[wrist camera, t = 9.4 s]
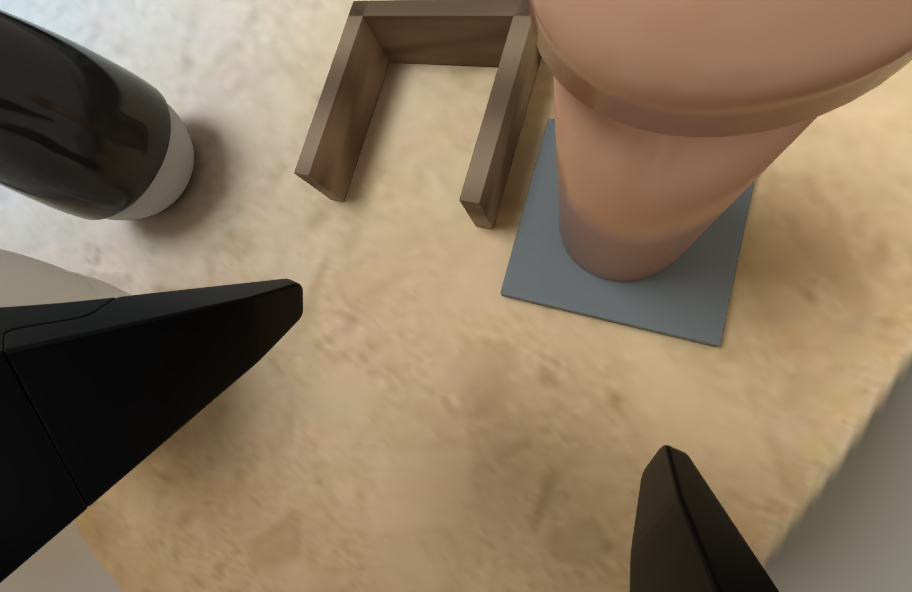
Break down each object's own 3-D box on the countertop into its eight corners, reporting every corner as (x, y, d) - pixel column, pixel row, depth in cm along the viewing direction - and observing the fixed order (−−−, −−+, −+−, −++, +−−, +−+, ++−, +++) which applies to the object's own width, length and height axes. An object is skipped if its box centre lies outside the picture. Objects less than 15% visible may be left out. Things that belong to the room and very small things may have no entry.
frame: (492, 229, 21) (479, 203, 18) (330, 199, 24) (293, 173, 21) (542, 53, 22) (538, -2, 19) (381, 48, 26) (353, 1, 22)
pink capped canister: (649, 317, 17) (914, 144, 4) (525, 246, 20) (444, -12, 6) (732, 195, 17) (1247, -353, 4) (598, 138, 20) (665, -336, 7)
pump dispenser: (115, 144, 32) (-258, -42, 17) (214, 95, 29) (-121, -165, 15) (115, 256, 29) (-321, 146, 15) (223, 212, 27) (-168, 33, 13)
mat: (715, 346, 17) (719, 345, 17) (502, 295, 20) (500, 293, 20) (757, 143, 18) (763, 136, 18) (548, 125, 21) (548, 118, 21)
